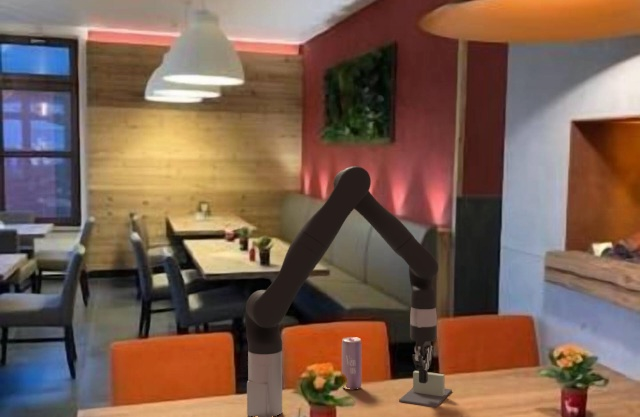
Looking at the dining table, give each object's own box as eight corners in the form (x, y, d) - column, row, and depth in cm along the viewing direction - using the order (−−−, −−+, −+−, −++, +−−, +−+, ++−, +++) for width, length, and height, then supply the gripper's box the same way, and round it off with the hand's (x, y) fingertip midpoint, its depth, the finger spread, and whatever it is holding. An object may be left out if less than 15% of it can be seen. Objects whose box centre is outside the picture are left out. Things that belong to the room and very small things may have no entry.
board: (442, 396, 194) (442, 376, 194) (413, 392, 198) (413, 372, 198) (444, 394, 195) (444, 374, 195) (415, 390, 199) (415, 370, 199)
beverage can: (361, 385, 207) (361, 337, 206) (360, 391, 201) (360, 341, 200) (342, 384, 207) (342, 336, 207) (341, 390, 201) (341, 341, 201)
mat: (436, 407, 186) (436, 405, 186) (399, 401, 191) (399, 399, 191) (451, 391, 200) (451, 389, 200) (416, 386, 205) (416, 384, 205)
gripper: (418, 317, 199) (418, 374, 200) (403, 326, 187) (403, 387, 188) (442, 319, 196) (442, 378, 196) (429, 328, 184) (428, 390, 185)
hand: (423, 382), depth 192 cm, fingers closed
